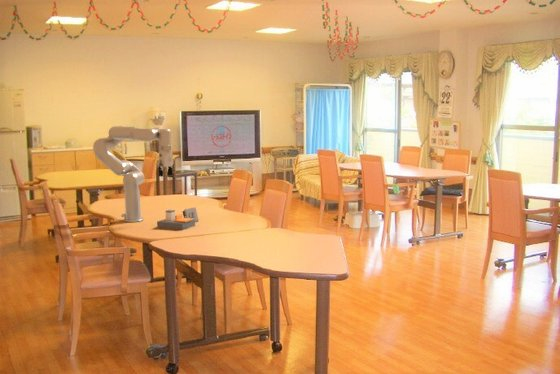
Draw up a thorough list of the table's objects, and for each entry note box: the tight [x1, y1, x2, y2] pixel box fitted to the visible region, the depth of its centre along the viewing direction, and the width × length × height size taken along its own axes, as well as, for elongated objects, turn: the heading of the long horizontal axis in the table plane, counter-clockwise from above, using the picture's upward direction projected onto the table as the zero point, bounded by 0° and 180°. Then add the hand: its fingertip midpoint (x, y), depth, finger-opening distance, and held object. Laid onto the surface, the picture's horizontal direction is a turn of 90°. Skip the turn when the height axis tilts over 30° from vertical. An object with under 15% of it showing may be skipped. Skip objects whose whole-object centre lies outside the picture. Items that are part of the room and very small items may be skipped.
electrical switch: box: [182, 207, 199, 223], centre depth 386 cm, size 9×5×9 cm, turn 141°
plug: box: [165, 209, 176, 221], centre depth 372 cm, size 4×4×10 cm
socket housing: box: [156, 218, 196, 231], centre depth 371 cm, size 18×14×4 cm
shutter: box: [174, 213, 193, 222], centre depth 368 cm, size 8×9×3 cm
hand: (165, 175), depth 385 cm, fingers open, 9 cm apart
